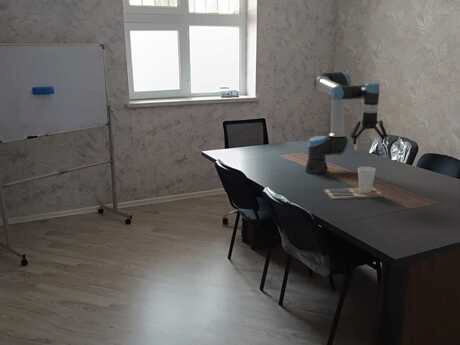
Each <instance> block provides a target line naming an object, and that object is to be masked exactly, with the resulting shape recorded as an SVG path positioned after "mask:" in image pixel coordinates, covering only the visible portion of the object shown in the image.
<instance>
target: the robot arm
mask: <svg viewBox="0 0 460 345" xmlns="http://www.w3.org/2000/svg"><path fill="white" fill-rule="evenodd" d="M313 86H314V88H315V89H316V90H317V91H319V92H321V93H323V92H324V93H327V94H328V95H330V98H331V103H330V104H331V106H330V132H329V134H328V135H327V136H328V137H327V136H326V135H316V136H312V137H310V138H309V139H308V144H307V149H308V150H307V162H306V164H305V167H304V171H305V172H306V173H308V174H313V175H323V174H326V173H328V172H329V168H328V163H327V160H326V159H327V158H326V157H328V156H341V155H346V154H347V153H348V151H349V149H350V139H349V137H350V138H352V139H353V140H352V142H353V143H352V144H353V145H354V148H353V149H354V150H355V151H358V143H359V136H360V135H361V134H362V133H363V132H364V131H365V130H366V129H367V130H369V129H371V130H373V129H374V131H375V132H376V133H377V135H379V137H378V145H377V149H378V150H382V144H384V139H385V138H386V137H388V133H387V131H386V129H385V127H384V123H383V120H381V119H378V111H379V110H378V109H379V99H380V98H379V97H380V84H379V83H377V82H367V83H365V84H358V85H352V80H351V76H350V75H349V73H348V72H346V71H338V72H336V71H334V72H322V73H320V74H318V75H317V76H316V77H315V79H314V81H313ZM346 100H363V110H362V111H363V112H362V120H357V121H356V124H355V126H354V127H353V130H352V132H351V134H350V135H349V137H348V136H347V134H346V133H345V109H346V108H345V107H346V106H345V105H346ZM377 125H378V126H379V128H380V130H379V128H378V127H377ZM360 126H361V127H360ZM359 128H360V129H359Z"/></svg>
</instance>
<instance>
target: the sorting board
mask: <svg viewBox="0 0 460 345" xmlns="http://www.w3.org/2000/svg"><path fill="white" fill-rule="evenodd" d="M323 192H324V193H325V194H326V195H327V196H328V197H329V198H330V199H331V200H345V199H368V198H384V194H383V193H382V192H381V191H379V190H377V189H376V188H375V187H374V186H372V189H371V192H369V193H364V192H360V191H359V187H346V188H345V187H344V188H326V189H325V188H324V189H323Z"/></svg>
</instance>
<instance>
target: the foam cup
mask: <svg viewBox="0 0 460 345" xmlns="http://www.w3.org/2000/svg"><path fill="white" fill-rule="evenodd" d="M375 175H376V168H375V167H372V166H359V167H358V168H357V176H358V177H357V178H358V188H359V191H360V192H364V193H369V192H371V189H372V187H373V183H374V180H375Z"/></svg>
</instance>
